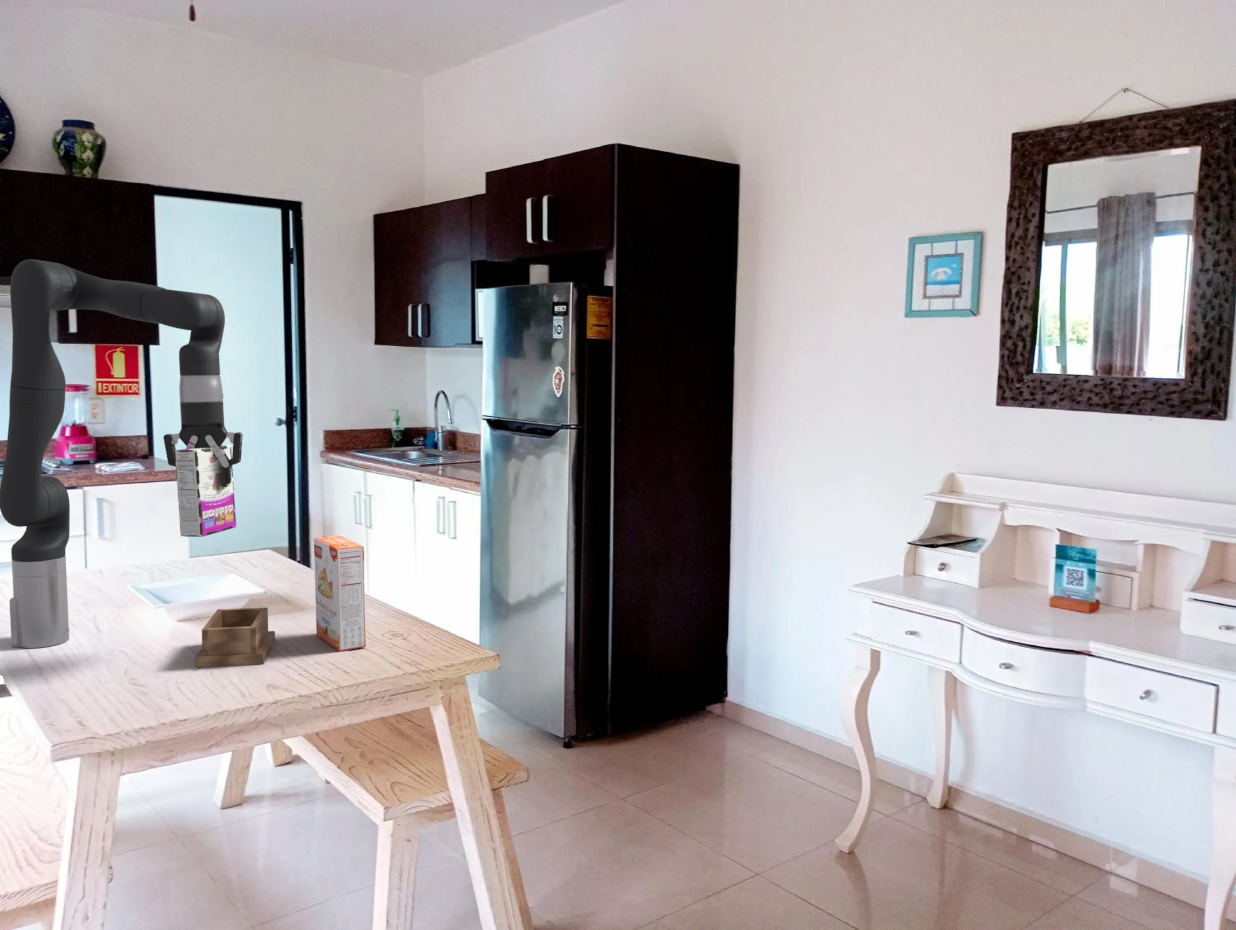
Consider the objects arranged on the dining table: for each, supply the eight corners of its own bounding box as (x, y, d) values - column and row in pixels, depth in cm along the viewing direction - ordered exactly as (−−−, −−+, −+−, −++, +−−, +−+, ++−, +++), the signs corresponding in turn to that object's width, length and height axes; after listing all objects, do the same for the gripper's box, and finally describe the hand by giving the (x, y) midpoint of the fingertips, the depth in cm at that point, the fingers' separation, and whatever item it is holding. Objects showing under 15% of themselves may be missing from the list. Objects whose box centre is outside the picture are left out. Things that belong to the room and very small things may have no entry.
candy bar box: (214, 527, 191) (210, 444, 190) (237, 527, 190) (233, 444, 189) (177, 536, 180) (173, 449, 179) (201, 537, 179) (197, 449, 178)
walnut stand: (195, 667, 179) (194, 630, 179) (212, 643, 195) (211, 609, 194) (263, 663, 182) (262, 627, 181) (275, 640, 197) (274, 606, 197)
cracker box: (314, 635, 201) (312, 536, 199) (342, 631, 205) (341, 534, 203) (337, 652, 190) (335, 547, 188) (366, 647, 193) (365, 544, 191)
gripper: (155, 401, 178) (160, 491, 179) (238, 399, 181) (242, 488, 182) (165, 399, 185) (170, 486, 187) (245, 398, 188) (249, 484, 190)
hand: (206, 487), depth 185 cm, fingers closed on candy bar box, 6 cm apart
